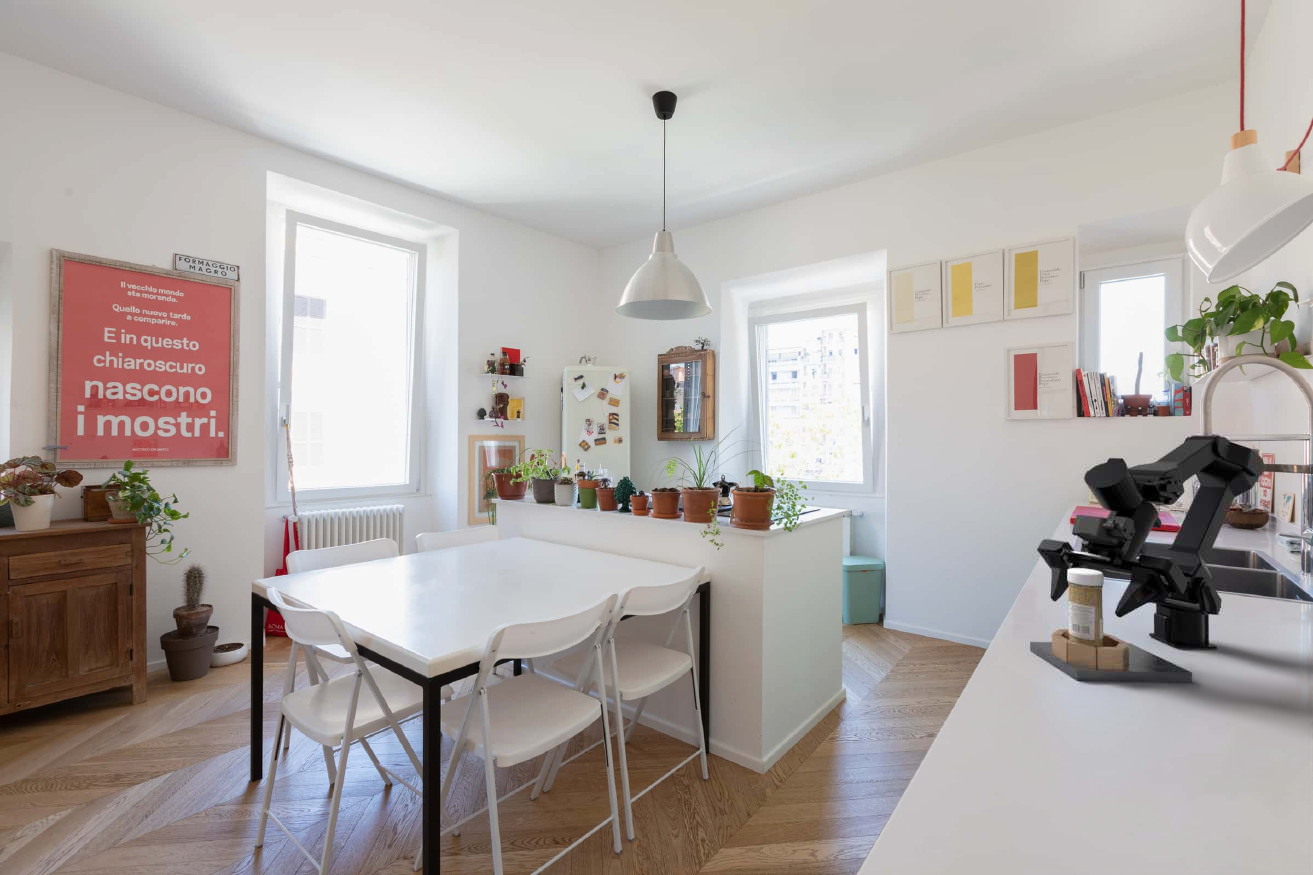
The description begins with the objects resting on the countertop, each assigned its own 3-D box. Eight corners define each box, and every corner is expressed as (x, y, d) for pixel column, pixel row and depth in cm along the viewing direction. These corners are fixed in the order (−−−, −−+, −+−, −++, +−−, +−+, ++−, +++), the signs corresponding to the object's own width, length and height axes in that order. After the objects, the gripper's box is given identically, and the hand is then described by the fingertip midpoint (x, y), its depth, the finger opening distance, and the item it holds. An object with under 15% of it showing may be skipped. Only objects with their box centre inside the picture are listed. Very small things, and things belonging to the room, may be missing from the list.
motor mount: (1130, 652, 97) (1130, 625, 97) (1192, 682, 85) (1192, 651, 85) (1030, 650, 98) (1029, 623, 98) (1076, 680, 86) (1076, 649, 86)
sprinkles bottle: (1111, 660, 90) (1111, 572, 89) (1089, 663, 88) (1088, 574, 88) (1082, 649, 94) (1081, 566, 94) (1060, 652, 93) (1060, 568, 93)
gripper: (1043, 491, 101) (1000, 562, 96) (1175, 502, 84) (1131, 588, 79) (1072, 534, 104) (1032, 603, 99) (1205, 552, 87) (1164, 638, 82)
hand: (1083, 607), depth 90 cm, fingers open, 9 cm apart
